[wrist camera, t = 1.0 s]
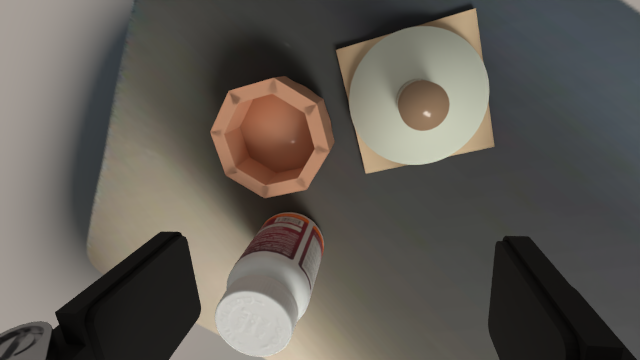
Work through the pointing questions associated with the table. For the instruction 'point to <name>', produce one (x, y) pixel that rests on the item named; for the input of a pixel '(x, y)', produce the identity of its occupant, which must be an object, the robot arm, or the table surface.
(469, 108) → the lid
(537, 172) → the table surface
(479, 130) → the mat
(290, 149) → the bowl
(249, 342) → the pill bottle
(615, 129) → the table surface
